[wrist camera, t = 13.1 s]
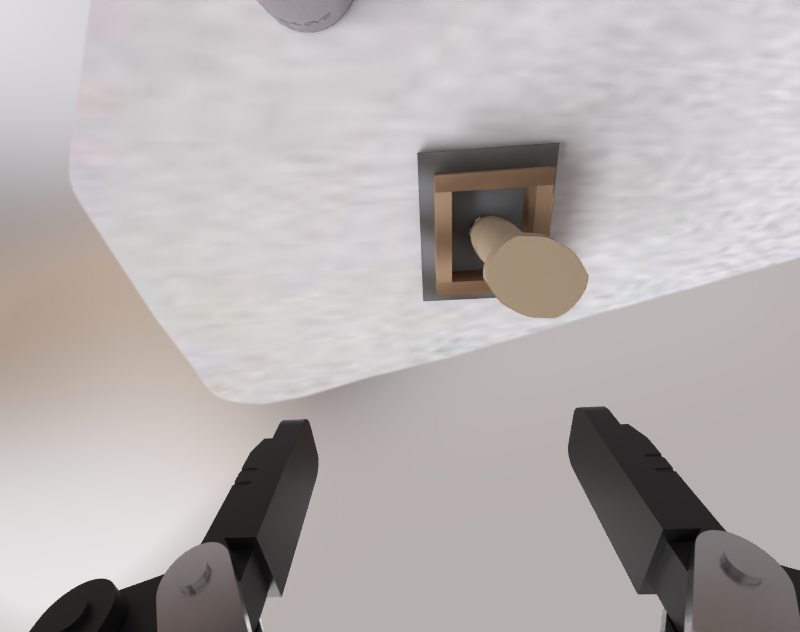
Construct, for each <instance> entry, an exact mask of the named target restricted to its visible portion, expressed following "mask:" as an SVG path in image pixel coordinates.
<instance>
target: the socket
mask: <svg viewBox="0 0 800 632" xmlns="http://www.w3.org/2000/svg"><path fill="white" fill-rule="evenodd" d="M558 150H559V143H550V144H537V145H523V146H509V147H496V148H482V149H469V150H455V151H441V152H428V153H417V155H418V180H419V205H420V230H421V255H422V279H423V301H438V300H458V299H478V298H497V297H496V296H495V295H494V293H493V292H492V290H491V289H490V287H489V286H488V284H487V283H486V281H485V280H484V278H483V268H484V263H485V262H484V261H482V260H481V258H480V257H479V256H478V254H477V253H476V251H475V249H474V247H473V245H472V242H471V236H470V235H469V228H471V227H472V225H473V224H474V221H475V218H477V217H478V216H480V217H486V216H490V215H493V216H496V217H499V218H502V219H504V220H507V221H509V222H510V223H512V224H513V225H515V226H516V227H517V228H518V229H519V230H521V231H522V232H523V233H536V234H543V235H546V236H547V237H549V232H550V223H551V214H552V206H553V197H554V196H553V194H554V185H555V176H556V167H557V159H558Z"/></svg>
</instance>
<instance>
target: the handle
mask: <svg viewBox="0 0 800 632" xmlns="http://www.w3.org/2000/svg"><path fill="white" fill-rule="evenodd" d="M469 235H470V236H471V242H472V245H473V247H474V249H475V251H476V253H477V254H478V256H479V257H480V258H481V260H482V261H484V262H485V263H484V268H483V278H484V280H485V281H486V283H487V284H488V286H489V287H490V289H491V290H492V292H493V293H494V295H495V296H496V297H497V299H498V300H499V301H500V302H501V303H502V304H503V305H505V306H506V307H508V308H510V309H512V310H514V311H516V312H518V313H520V314H522V315H525V316H528V317H534V318H556V317H559V316H561V315H563V314H564V313H566V312H567V311H569V310H570V309H571V308H572V307H573V306H574V305H575V304H576V303H577V302H578V300H579V299H580V298H581V296H582V295H583V293H584V291H585V289H586V286H587V283H588V274H587V272H586V270H585V268H584V266H583V264H582V263H581V261H580V259H579V258H578V257H577V255H576V254H575V253H574V252H573V251H571V250H570V249H569V248H567V247H565V246H563V245H562V244H560V243H558V242H556V241H554V240H553V239H551V238H549V237H547V236H546V235H543V234H536V233H523V232H522V231H521V230H519V229H518V228H517V227H516V226H515V225H513V224H512V223H510V222H509V221H507V220H504V219H502V218H499V217H496V216H493V215H490V216H486V217H480V216H478V217H477V218H475V221H474V224H473V225H472V227H471V228H469Z"/></svg>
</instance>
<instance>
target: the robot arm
mask: <svg viewBox="0 0 800 632" xmlns="http://www.w3.org/2000/svg"><path fill="white" fill-rule="evenodd" d="M257 1H258V2H259V3H260V4H261V5H262V6H263V7H264V8H265V9H266V10H267V11H268V12H269V13H270V14H271V15H272V16H273V17H274V18H275V19H276V20H277V21H278V22H280V23H282V24H283V25H285V26H287V27H288V28H290V29H294V30H297V31H300V32H316V31H320V30H324V29H326V28H328V27H329V26H331V25H333V24H334V23H336V22H337V21H338V20H339V19H340V18H341V17H342V16H343V15H344V13H345V12H346V10H347V9H348V7H349V6H350V4H351V2H352V0H257ZM568 453H569V459H570V463H571V465H572V468H573V470H574V472H575V474H576V476H577V478H578V480H579V482H580V483H581V485H582V487H583V489H584V491H585V493H586V495H587V497H588V499H589V501H590V503H591V505H592V507H593V508H594V510H595V512H596V514H597V516H598V518H599V520H600V522H601V524H602V526H603V528H604V530H605V532H606V534H607V536H608V537H609V539H610V541H611V543H612V545H613V547H614V549H615V551H616V553H617V555H618V557H619V559H620V561H621V562H622V564H623V566H624V568H625V570H626V572H627V574H628V576H629V578H630V580H631V582H632V584H633V586H634V588H635V590H636V592H637V593H638V594H657V595H658V597H659V599H660V600H661V602H662V604H663V606H664V610H663V614H662V621H661V631H660V632H800V570H796V569H792V568H788V567H785V566H782V565H779V563H778V562H776V560H775V559H774V558H772V557H771V556H770V555H769V554H768V553H766V552H765V551H764V550H763V549H761V548H760V547H758V546H757V545H755V544H753V543H752V542H750V541H748V540H746V539H744V538H742V537H740V536H738V535H735V534H732V533H729V532H727V531H726V530H725V529H724V528H723V527H722V526H721V525H720V524H719V522H718V521H717V520H716V519H715V518H714V517H713V515H712V514H711V513H710V512H709V511H708V509H707V508H706V507H705V506H704V505H703V503H702V502H701V501H700V500H699V499H698V497H697V496H696V495H695V494H694V493H693V491H692V490H691V489H690V488H689V487H688V485H687V484H686V483H685V482H684V481H683V480H682V478H681V477H680V476H679V475H678V474H677V472H676V471H673V468H672V466H671V465H670V464H669V463H668V462H667V460H666V459H665V458H664V457H662V456H661V453H660V452H659V451H658V450H657V449H656V447H655V446H654V445H653V444H652V443H651V442H650V440H649V439H648V438H647V437H645V436H644V435H643V434H642V433H640V432H639V431H637V430H636V429H634V428H633V427H632V426H630V425H629V424H622V425H621V424H620V423H619V422H618V421H617V419H616V418H615V417H614V416H613V414H612V413H611V412H610V411H609V410H608V409H607V408H606V407H581V408H576V409H575V411H574V415H573V421H572V426H571V433H570V438H569V445H568ZM317 473H318V454H317V450H316V446H315V442H314V438H313V434H312V430H311V426H310V423H309V421H308V420H307V419H303V420H302V419H301V420H283V421H282V422H281V423H280V424H279V426H278V429H277V430H276V432H275V434H274V436H273V438H270V439H264V440H263V441H262V442H261V443H260V444H259V445H258V446H257V447H255V448H254V449H253V450H252V452H251V453H250V454H249V456H248V458H247V460H246V462H245V464H244V465H243V467H242V471H241V472H240V473H239V475H238V477H237V478H236V480H235V484H234V485H233V486H232V488H231V490H230V491H229V493H228V495H227V497H226V499H225V501H224V503H223V504H222V506H221V508H220V510H219V512H218V514H217V516H216V517H215V519H214V521H213V523H212V525H211V527H210V529H209V530H208V532H207V534H206V536H205V538H204V540H203V541H202V543H201V544H200V545H198V546H195V547H193V548H191V549H190V550H188V551H187V552H185V553H184V554H183V555H181V556H180V557H179V558H178V559H177V560H176V561H175V562H174V563H173V564H172V565H171V566H170V567H169V569H168V570H167V572H166V573H165V574H163V575H161V576H158V577H155V578H153V579H150V580H147V581H144V582H142V583H138V584H136V585H133V586H130V587H127V588H124V589H122V590H118V589H117V588H116V587H115V585H114V584H113V583H112V582H111V581H110V580H107V579H95V580H91V581H88V582H85V583H83V584H81V585H79V586H77V587H75V588H74V589H72V590H70V591H69V592H67V593H66V594H65V595H63V596H62V597H61V598H59V600H57V601H56V602H55V603H54V604H53V605H51V606H50V607H49V608H48V609H47V611H46V612H45V613H44V614H43V615H42V616H41V617H40V619H39V620H38V621H37V622H36V623H35V625H34V626H33V628H32V629H31V630H30V631H29V632H265V631H264V627H263V623H262V621H261V617H260V616H261V613H262V610H263V607H264V603H265V600H266V597H282V594H283V591H284V587H285V584H286V581H287V577H288V573H289V570H290V567H291V563H292V560H293V557H294V553H295V550H296V546H297V542H298V539H299V536H300V532H301V529H302V525H303V522H304V519H305V515H306V512H307V508H308V505H309V502H310V498H311V495H312V491H313V487H314V484H315V481H316V477H317Z"/></svg>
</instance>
